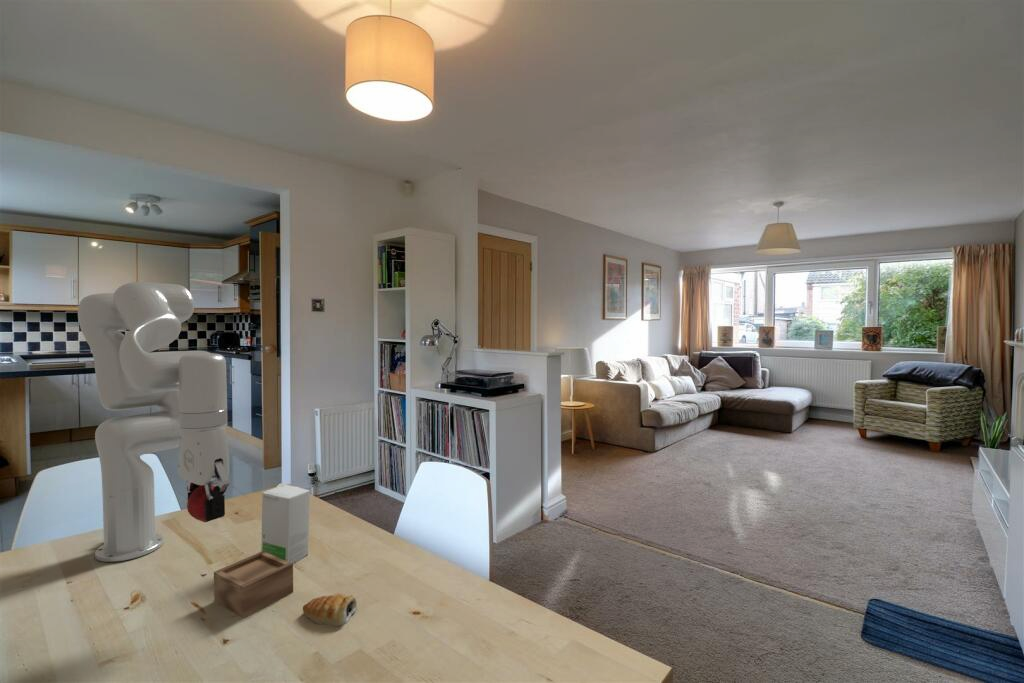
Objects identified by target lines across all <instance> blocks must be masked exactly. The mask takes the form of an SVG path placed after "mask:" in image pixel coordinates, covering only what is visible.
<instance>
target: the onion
mask: <svg viewBox="0 0 1024 683" xmlns="http://www.w3.org/2000/svg"><path fill="white" fill-rule="evenodd" d="M215 486H216V485H215ZM215 486H214V484H213V485H211V488H212V490H213V489H214V487H215ZM206 499H207V495H206V490H205V485H203V486H199V487H198V488H196V489H195V490H194V491H193V493H192V494H191V495H190V497H189V499H188V498H187V502H186V503H187V504H186V508H187V513H188V514H189V515H190V516H191V517H192V518H193V519H195V520H197V521H200V522H202V523H209V521H206V520H205V500H206Z"/></svg>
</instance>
